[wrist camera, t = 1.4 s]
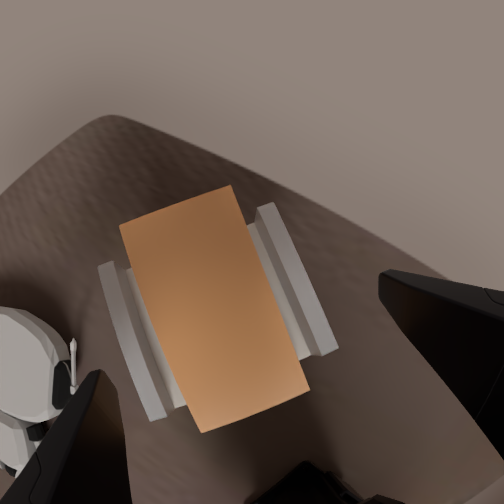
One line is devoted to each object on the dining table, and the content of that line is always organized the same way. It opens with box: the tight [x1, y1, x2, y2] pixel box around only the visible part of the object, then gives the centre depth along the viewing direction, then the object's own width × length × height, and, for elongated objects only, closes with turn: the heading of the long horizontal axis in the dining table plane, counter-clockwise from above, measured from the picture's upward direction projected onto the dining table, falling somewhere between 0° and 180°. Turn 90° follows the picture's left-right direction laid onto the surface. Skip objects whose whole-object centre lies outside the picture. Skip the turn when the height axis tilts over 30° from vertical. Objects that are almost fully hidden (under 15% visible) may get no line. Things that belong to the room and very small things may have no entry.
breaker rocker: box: [119, 185, 310, 433], centre depth 13 cm, size 9×5×2 cm, turn 22°
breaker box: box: [97, 202, 339, 422], centre depth 17 cm, size 8×12×10 cm, turn 112°
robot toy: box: [0, 306, 78, 478], centre depth 17 cm, size 12×4×15 cm
